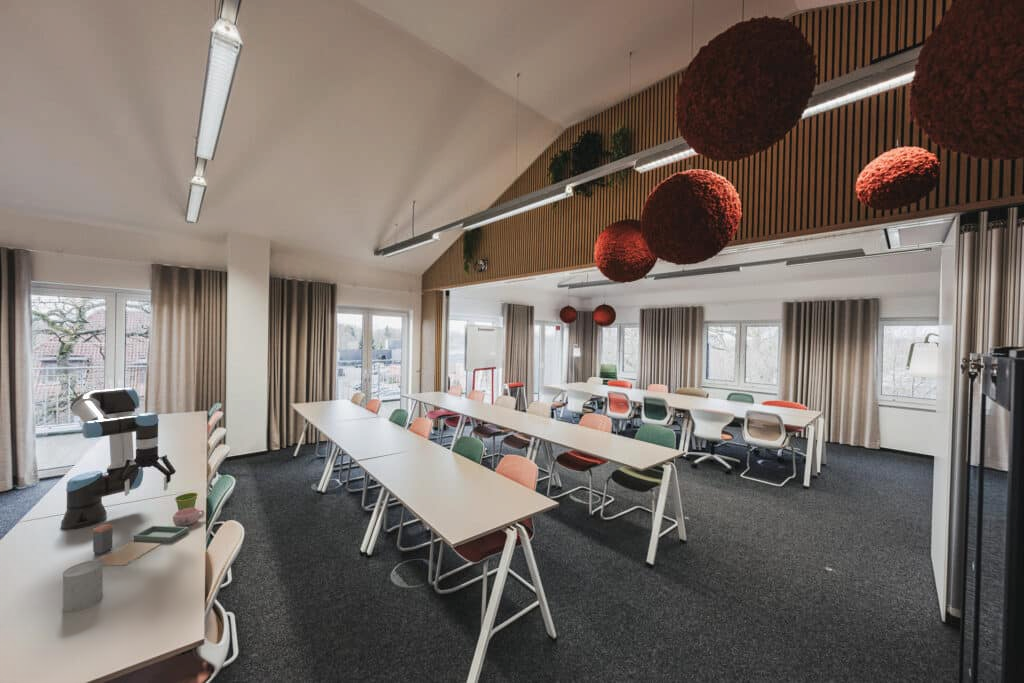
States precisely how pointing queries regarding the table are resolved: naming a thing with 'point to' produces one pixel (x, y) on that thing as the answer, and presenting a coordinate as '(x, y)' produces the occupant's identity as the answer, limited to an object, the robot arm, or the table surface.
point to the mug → (186, 516)
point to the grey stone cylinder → (82, 585)
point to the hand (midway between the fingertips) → (146, 492)
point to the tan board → (128, 553)
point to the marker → (102, 539)
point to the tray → (161, 534)
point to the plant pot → (186, 501)
